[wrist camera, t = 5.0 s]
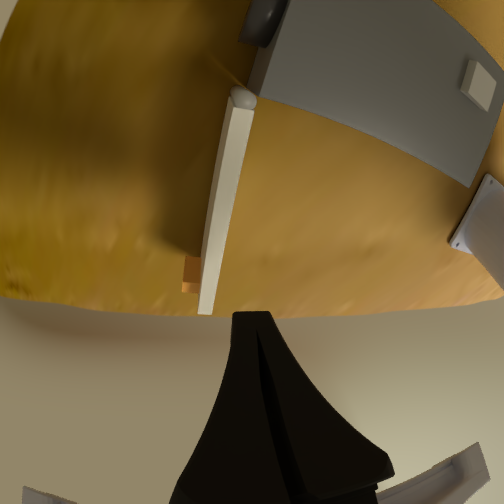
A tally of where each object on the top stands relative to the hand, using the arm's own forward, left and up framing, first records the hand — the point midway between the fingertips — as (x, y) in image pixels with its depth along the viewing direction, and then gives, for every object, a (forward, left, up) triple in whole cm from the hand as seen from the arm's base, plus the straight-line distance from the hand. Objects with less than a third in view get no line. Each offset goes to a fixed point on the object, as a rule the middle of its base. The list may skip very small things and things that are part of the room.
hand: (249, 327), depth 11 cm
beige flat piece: (+2, -2, -9) cm, 9 cm away
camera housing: (-5, -12, -9) cm, 16 cm away
